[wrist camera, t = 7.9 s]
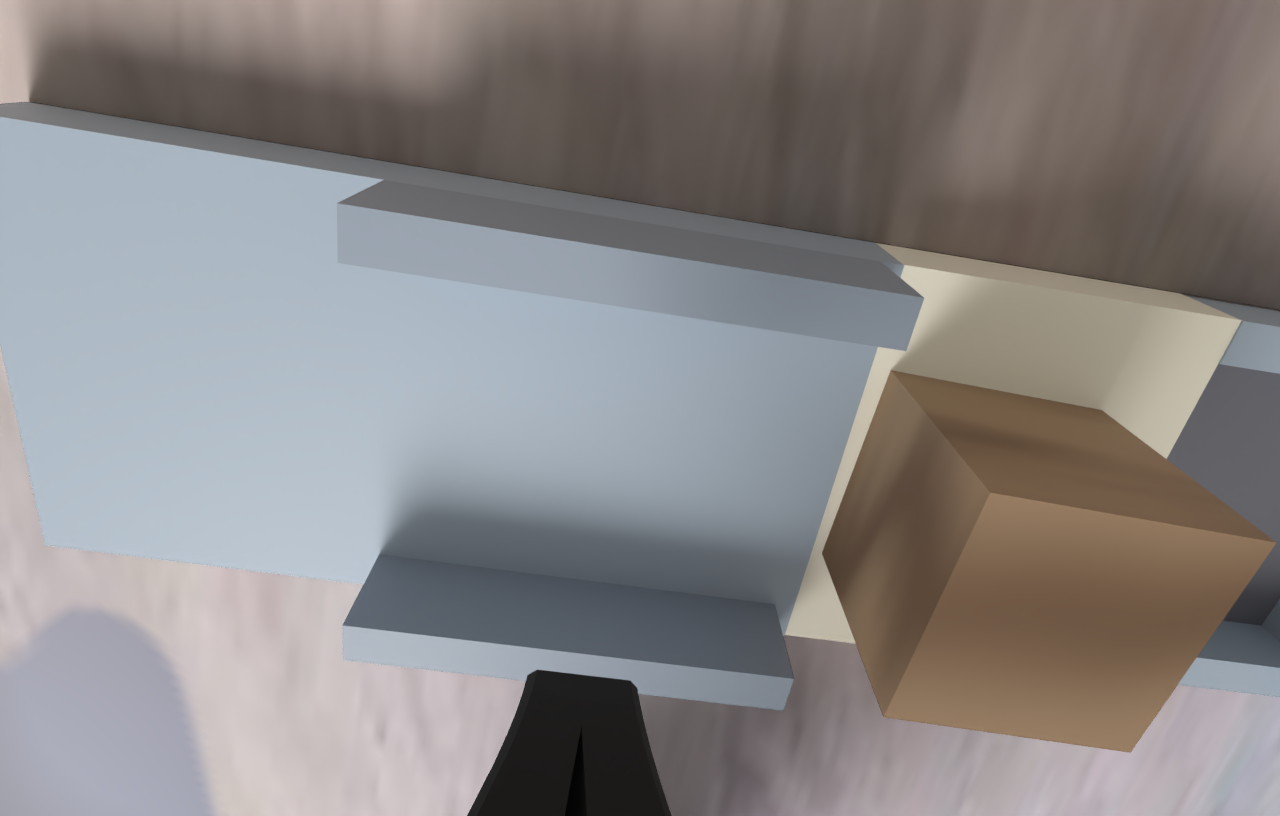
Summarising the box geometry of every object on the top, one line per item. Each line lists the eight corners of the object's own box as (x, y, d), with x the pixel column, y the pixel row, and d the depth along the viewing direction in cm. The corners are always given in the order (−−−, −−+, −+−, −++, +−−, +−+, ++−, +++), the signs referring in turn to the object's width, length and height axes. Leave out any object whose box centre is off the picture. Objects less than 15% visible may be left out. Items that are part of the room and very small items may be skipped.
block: (1010, 584, 19) (1130, 752, 14) (821, 553, 18) (883, 717, 14) (1101, 409, 17) (1276, 542, 12) (890, 370, 16) (990, 492, 12)
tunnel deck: (1284, 652, 22) (1429, 784, 18) (99, 500, 20) (-40, 615, 16) (1502, 347, 18) (1755, 431, 14) (27, 101, 15) (-190, 118, 11)
